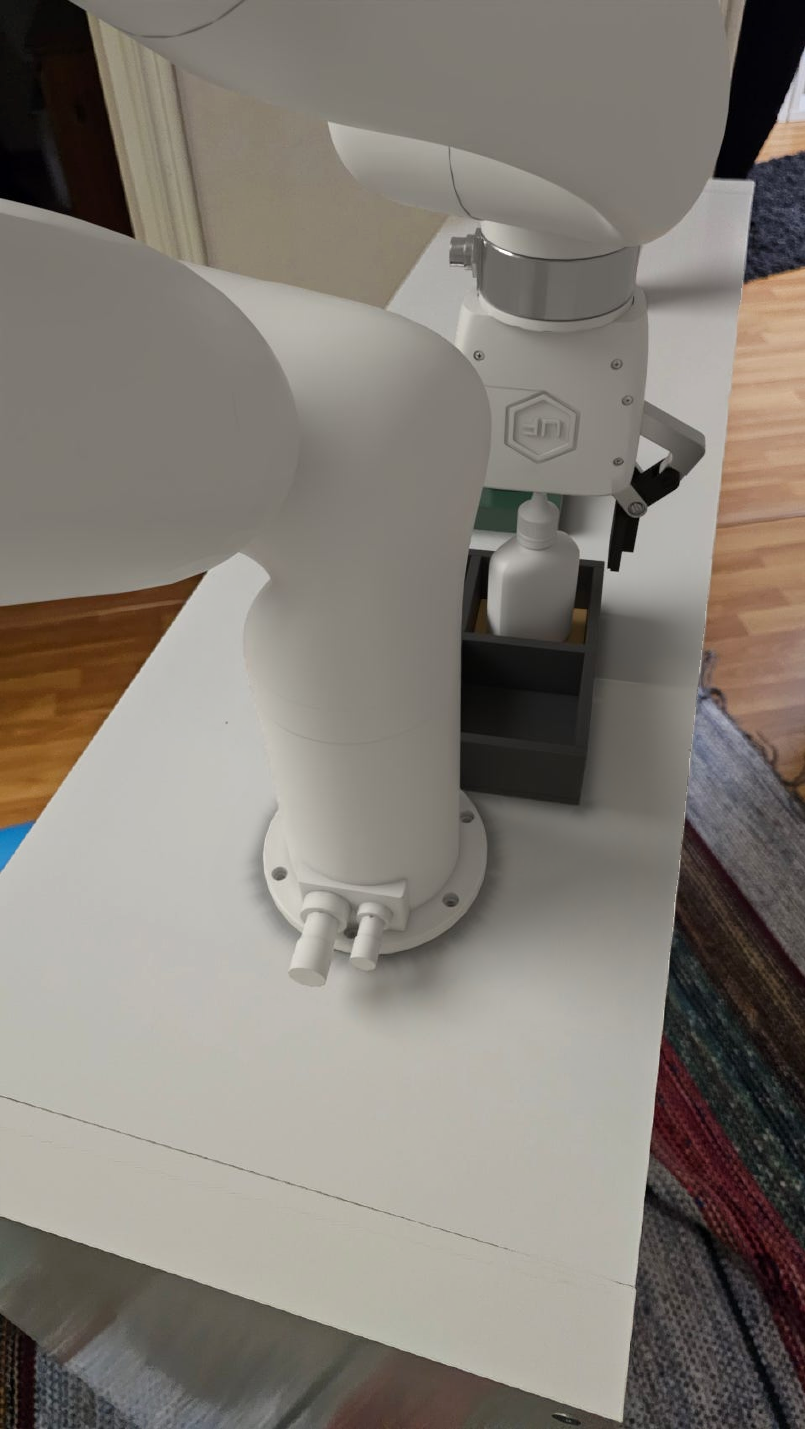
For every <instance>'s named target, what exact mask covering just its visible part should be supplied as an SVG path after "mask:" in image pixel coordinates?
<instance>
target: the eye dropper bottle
mask: <svg viewBox="0 0 805 1429" xmlns="http://www.w3.org/2000/svg"><path fill="white" fill-rule="evenodd" d="M558 518H559V509H558V508H557V506H556V505H555V504H554V503H552V502H550V501H548V500H547V493H539V492H534V493H533V496H532V499H531V500H528V501H526V502H524V503H523V504H521V505H520V507H519V509H518V519H517V533H516V535H514V536H512V537H511V538H509V539H507V540H506V541H505V542H503V544H501V545H500V546H498V548H496V550H494V551H495V552H494V553H493V555H492V557H491V559H490V563H489V579H488V603H487V631H486V634H489V635H498V636H508V637H517V638H526V639H535V640H545V641H554V642H564V641H565V640H566V639H567V638H568V636H569V634H570V632H571V627H572V619H573V611H574V603H575V595H576V586H577V578H578V569H579V559H581V558H580V557H581V555H580V549H579V546H578V545H577V543H576V541H575V540H574V539H573V538H572V537H571V535H569V534H568V533H567V532H565V531H562V530H559V527H558ZM557 528H558V530H557Z"/></svg>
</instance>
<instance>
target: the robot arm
mask: <svg viewBox="0 0 805 1429" xmlns="http://www.w3.org/2000/svg"><path fill="white" fill-rule="evenodd" d="M68 1H69V2H70V3H73V4H74V5H76V6H78V7H79V8H81V9H83V10H84V11H86V12H87V13H88V14H91V15H92V16H94V17H96V18H97V19H99V20H100V21H102V22H103V23H106V24H107V25H109V26H111V27H112V28H114V29H115V30H117V31H118V32H121V34H124V35H126V36H127V37H129V38H130V39H132V40H133V41H135V42H137V43H139V44H140V45H142V46H143V47H145V48H146V49H148V50H150V51H152V52H153V53H154V54H157V55H158V56H160V57H161V58H163V59H164V60H166V61H167V62H169V63H171V64H172V65H173V66H175V67H177V68H179V69H180V70H182V71H183V72H186V73H187V74H190V75H191V76H194V77H197V78H198V79H200V80H203V81H204V82H208V83H210V84H212V85H214V86H217V87H219V88H222V89H224V90H226V91H230V92H234V93H236V94H239V95H242V96H245V97H248V98H249V99H253V100H256V101H259V102H262V103H266V104H270V105H273V107H274V106H275V107H276V108H277V107H278V108H279V109H282V110H285V111H286V112H287V111H288V112H291V113H294V114H298V115H301V116H304V117H309V118H313V119H317V120H321V121H324V122H327V126H328V130H329V134H330V137H331V141H332V144H333V146H334V149H335V151H336V154H337V156H338V158H339V160H340V161H341V163H342V164H343V166H344V167H345V169H347V171H348V172H349V173H350V175H351V176H352V177H353V179H355V180H356V181H357V182H358V183H359V184H360V185H362V186H363V187H364V188H365V189H367V190H369V192H371V193H372V194H375V195H376V196H378V197H381V198H382V199H385V200H388V201H390V202H393V203H395V204H399V205H402V206H406V207H409V208H413V209H419V210H423V211H428V212H433V213H437V214H443V215H449V216H454V217H458V218H464V219H469V220H474V221H480V222H479V225H480V227H476V228H475V232H474V233H473V234H469V233H467V234H466V236H464V237H463V236H452V237H451V238H450V243H449V250H448V251H449V254H448V258H449V260H448V262H449V266H450V267H451V268H464V271H470V272H471V274H472V278H473V279H476V280H474V281H473V282H472V283H471V284H470V286H469V287H468V289H467V291H466V293H465V294H464V296H463V299H462V302H461V307H460V311H459V314H458V319H457V326H456V333H455V338H454V344H453V343H452V342H450V340H448V339H447V338H445V337H444V336H442V335H441V334H439V333H438V332H436V331H434V330H433V329H431V328H429V327H428V326H426V325H423V324H421V323H420V322H417V321H414V320H413V319H410V318H409V317H407V316H403V315H401V314H399V313H396V312H394V311H390V310H387V309H384V308H382V307H378V306H375V305H372V304H368V303H364V302H361V301H356V300H353V299H348V298H344V297H339V296H336V295H332V294H328V293H325V292H321V291H316V290H312V289H309V288H304V287H299V286H296V285H292V284H288V283H284V282H281V281H280V282H279V281H269V280H265V279H264V280H263V279H259V278H255V277H251V276H247V275H243V274H239V273H235V272H231V271H227V270H223V269H219V268H214V267H211V266H206V265H202V264H198V263H194V262H191V261H187V260H182V259H177V258H174V257H171V256H169V255H167V254H165V253H163V252H161V251H159V250H157V249H155V248H153V247H151V246H149V245H147V244H146V243H143V242H142V241H140V240H138V239H135V238H134V237H131V236H128V235H127V234H123V233H120V232H117V231H114V230H111V229H109V228H106V227H103V226H100V225H98V224H94V223H92V222H89V221H86V220H83V219H81V218H77V217H74V216H71V215H68V214H63V213H60V212H56V211H53V210H49V209H45V208H42V207H38V206H34V205H30V204H26V203H22V202H17V201H14V200H9V199H6V198H1V197H0V607H6V606H16V605H23V604H32V603H33V604H34V603H40V602H50V601H58V600H65V599H74V598H83V597H85V598H86V597H93V596H94V597H95V596H105V595H115V594H124V593H130V592H134V591H136V592H137V591H140V590H141V591H142V590H147V589H151V588H152V589H153V588H157V587H162V586H167V585H172V584H175V583H178V582H181V581H184V580H186V579H189V578H192V577H194V576H197V575H200V574H202V573H205V572H208V571H210V570H211V569H214V568H215V567H218V566H219V565H221V564H223V563H225V562H226V561H228V560H229V559H231V558H233V556H235V555H237V554H238V553H240V554H242V555H244V556H246V557H247V558H249V559H251V560H253V561H254V562H255V563H257V564H258V565H259V566H260V567H261V568H263V570H264V571H265V572H266V573H267V575H268V576H269V579H268V580H267V581H266V583H265V584H264V585H263V587H262V588H261V589H260V590H259V591H258V593H257V594H256V595H255V597H254V599H253V600H252V602H251V604H250V607H249V608H248V612H247V613H246V616H245V620H244V622H243V623H244V624H243V630H242V654H243V661H244V666H245V672H246V676H247V680H248V684H249V688H250V691H251V694H252V699H253V704H254V708H255V712H256V717H257V721H258V725H259V730H260V733H261V738H262V743H263V747H264V751H265V756H266V760H267V764H268V768H269V773H270V778H271V782H272V786H273V790H274V795H275V799H276V803H277V804H276V805H277V808H278V809H277V811H275V814H274V816H273V817H272V818H271V821H270V823H269V826H268V829H267V831H266V834H265V837H264V845H263V852H262V861H263V872H264V877H265V880H266V884H267V888H268V891H269V893H270V895H271V898H272V900H273V902H274V904H275V906H276V907H277V909H278V910H279V912H280V913H281V914H282V916H283V917H284V918H285V920H287V922H288V924H290V925H291V926H292V927H294V928H295V929H296V930H297V931H298V932H300V933H301V936H300V938H298V940H297V942H296V944H295V948H294V951H293V955H292V958H291V960H290V965H289V968H288V972H287V973H288V976H289V978H290V979H291V980H293V981H294V982H296V983H298V984H300V985H303V986H307V987H311V988H318V987H322V986H325V985H326V982H327V979H328V976H329V972H330V969H331V965H332V961H333V957H334V954H335V950H336V951H339V952H343V953H347V954H349V953H350V956H349V960H348V962H349V964H350V966H352V967H353V968H355V969H357V970H360V971H367V972H368V971H374V970H375V969H376V968H377V963H378V959H379V955H389V954H394V953H399V952H402V951H406V950H411V949H414V948H416V947H419V946H421V945H423V944H425V943H428V942H430V941H433V940H434V939H436V938H438V937H439V936H440V935H442V934H443V933H445V932H446V931H447V930H449V929H451V928H452V927H453V926H454V925H455V924H456V923H457V922H458V921H460V920H461V918H462V917H463V916H465V914H466V913H467V912H468V910H469V909H470V907H471V906H472V904H473V903H474V901H475V900H476V898H478V895H479V892H480V890H481V887H482V885H483V882H484V880H485V875H486V869H487V863H488V839H487V834H486V828H485V824H484V822H483V820H482V817H481V815H480V812H479V811H478V810H479V809H477V807H476V806H475V804H474V803H473V802H472V800H471V799H470V796H468V794H467V793H466V792H465V791H464V790H461V789H460V710H461V623H462V601H463V590H464V579H465V571H466V565H467V558H468V551H469V549H470V546H471V541H472V536H473V531H474V529H473V527H474V523H475V519H476V514H477V510H478V506H479V502H480V497H481V493H482V489H483V487H484V488H494V489H504V490H516V491H527V492H539V493H551V494H563V496H565V495H566V496H579V497H596V498H597V497H598V498H599V497H600V498H601V497H609V496H612V497H613V498H614V499H615V502H614V508H613V515H612V522H611V527H610V535H609V541H608V542H609V543H608V551H607V552H608V553H607V564H606V569H608V570H609V572H614V573H615V572H616V573H620V567H621V562H622V557H623V556H622V555H623V553H632V554H633V553H634V551H635V547H636V541H637V535H638V529H639V524H640V523H639V522H640V518H641V517H644V516H645V515H646V514H647V512H648V508H649V507H651V506H653V505H654V504H655V503H657V502H658V501H661V499H663V498H665V497H667V496H668V495H670V494H671V493H673V492H674V491H676V490H677V489H678V488H679V487H680V484H681V481H682V480H683V479H684V478H685V477H687V476H688V475H689V474H690V473H691V471H692V470H693V469H695V467H696V465H697V464H698V463H699V462H700V461H701V460H702V459H703V458H704V456H705V455H706V448H707V447H706V436H705V434H703V433H702V432H701V431H699V430H698V429H696V428H695V427H692V426H691V425H689V424H688V423H686V422H684V421H682V420H680V419H678V418H676V417H675V416H673V415H672V414H670V413H668V412H666V411H664V410H663V409H661V408H659V407H657V406H656V405H655V404H652V403H651V402H648V401H647V400H645V396H646V387H647V378H648V377H647V375H648V364H649V314H648V305H647V299H646V294H645V292H644V290H643V289H642V287H641V286H640V285H638V283H637V282H636V283H635V280H636V281H637V279H636V273H637V274H638V268H637V266H638V267H639V263H638V259H639V260H640V258H639V252H640V245H643V244H644V245H647V244H650V243H652V242H655V241H656V240H658V239H660V238H662V237H663V236H665V235H666V234H668V233H669V232H670V231H671V230H672V229H673V228H674V227H676V226H677V225H678V224H679V223H680V222H682V220H683V219H684V218H685V217H686V215H687V214H688V213H689V212H690V211H691V210H692V208H693V207H694V205H695V204H696V202H697V201H698V199H699V198H700V196H701V195H702V193H703V191H704V189H705V187H706V185H707V184H708V182H709V179H710V177H711V175H712V173H713V171H714V168H715V165H716V163H717V160H718V157H719V154H720V151H721V147H722V144H723V141H724V136H725V132H726V127H727V120H728V114H729V108H730V107H729V106H730V93H731V62H730V51H729V42H728V38H727V32H726V27H725V26H726V25H725V20H724V14H723V11H722V9H721V5H720V1H719V0H68ZM644 245H643V246H644ZM641 437H643V438H645V439H647V440H648V441H650V442H651V443H654V444H655V445H657V446H659V447H661V448H662V449H664V450H666V451H667V452H668V454H667V455H666V457H664V458H662V459H660V460H659V461H657V462H656V463H655V464H652V466H650V467H649V468H647V469H646V470H643V468H642V467H641V466H640V465H639V463H638V461H637V458H638V451H639V445H640V439H641ZM352 937H354V938H352Z"/></svg>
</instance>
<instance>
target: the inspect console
mask: <svg viewBox="0 0 805 1429" xmlns="http://www.w3.org/2000/svg"><path fill="white" fill-rule="evenodd" d="M533 493H534V492H527V491H516V490H504V489H494V488H484V487H483V489H482V493H481V497H480V502H479V506H478V510H477V514H476V519H475V523H474V527H473V530H475V531H486V532H487V531H488V532H500V533H510V534H517V519H518V509H519V507H520V505H521V504H523V503H524V502H526V501H528V500H531V499H532V496H533ZM563 499H564V494H551V493H547V500H548V501H550V502H552V503H554V504H555V505H556V506H557V508H558V509H559V518H558V528H557V530H559V526H560V521H561V512H562V505H563Z"/></svg>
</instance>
